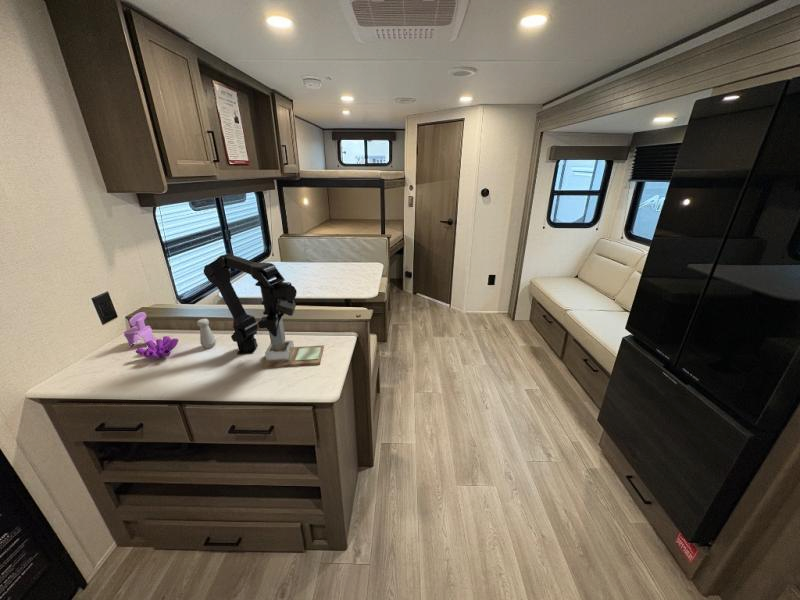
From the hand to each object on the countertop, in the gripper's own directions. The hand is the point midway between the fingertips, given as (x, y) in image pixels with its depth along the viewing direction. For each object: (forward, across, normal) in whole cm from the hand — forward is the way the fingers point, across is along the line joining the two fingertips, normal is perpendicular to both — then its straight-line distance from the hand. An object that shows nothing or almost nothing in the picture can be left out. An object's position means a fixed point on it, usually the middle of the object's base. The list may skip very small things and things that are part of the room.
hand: (276, 333), depth 122 cm
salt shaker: (+12, +13, +34) cm, 38 cm away
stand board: (+12, 0, -6) cm, 13 cm away
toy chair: (+12, +19, +65) cm, 69 cm away
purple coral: (+12, +8, +51) cm, 53 cm away
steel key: (+4, 0, 0) cm, 4 cm away
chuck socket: (+12, 0, 0) cm, 12 cm away
